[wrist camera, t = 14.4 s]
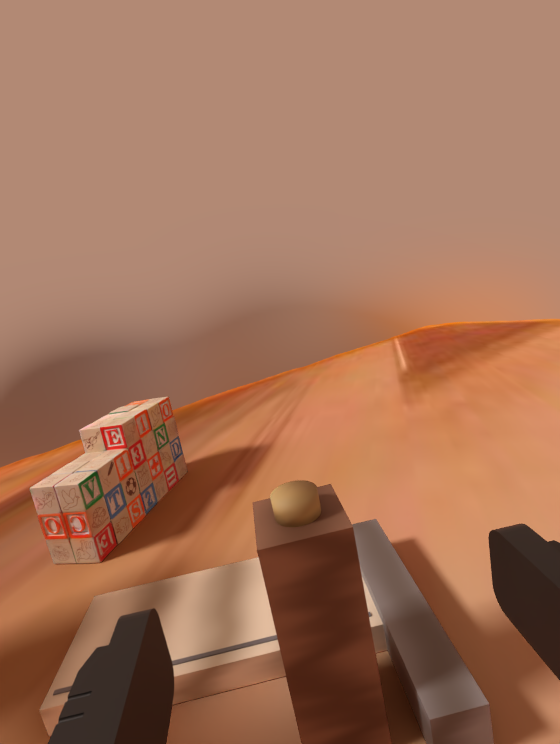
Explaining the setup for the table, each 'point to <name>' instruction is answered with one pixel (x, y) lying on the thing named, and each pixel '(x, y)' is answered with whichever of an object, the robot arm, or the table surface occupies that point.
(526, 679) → the table surface
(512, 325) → the table surface
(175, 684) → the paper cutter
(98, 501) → the stack of blocks
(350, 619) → the brown pillar with knob
